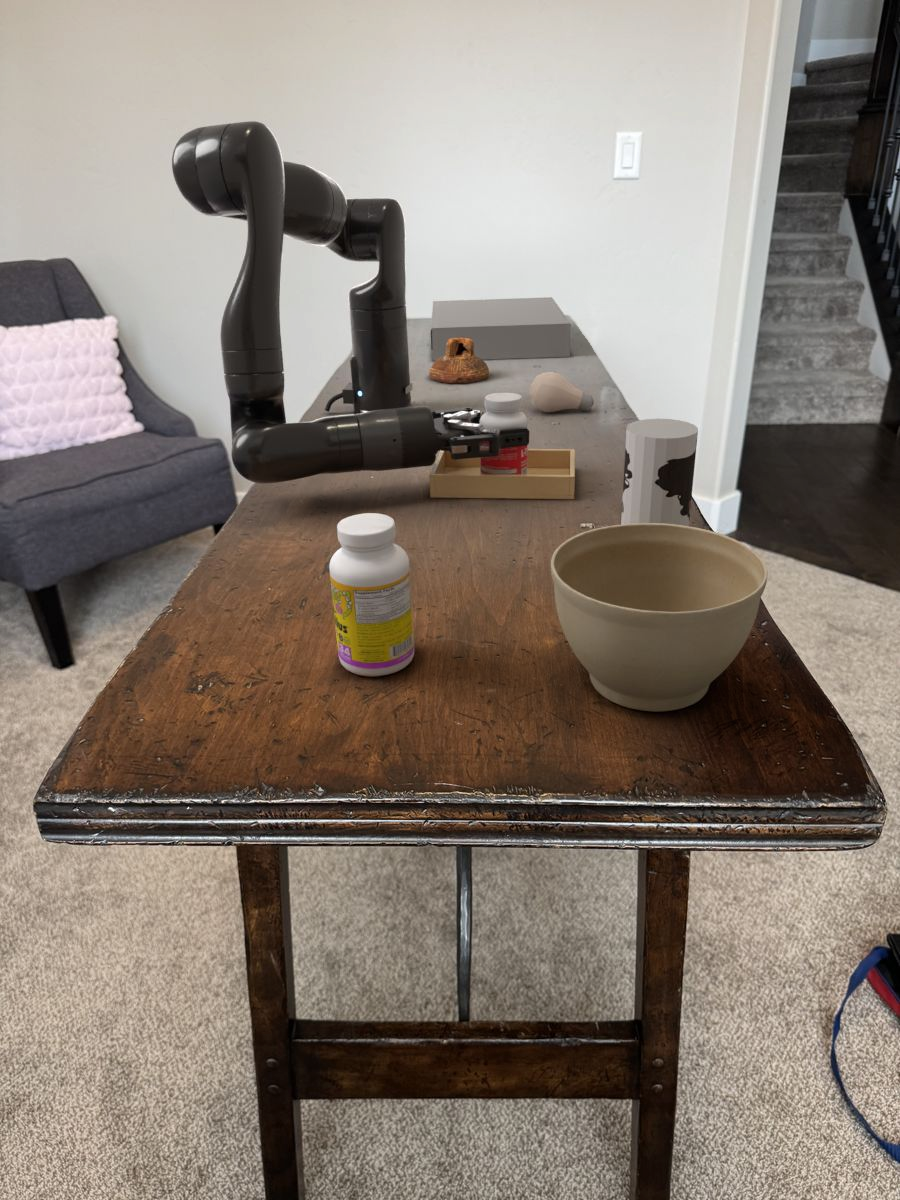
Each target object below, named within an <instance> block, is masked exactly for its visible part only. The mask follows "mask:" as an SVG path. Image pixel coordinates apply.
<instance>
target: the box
mask: <svg viewBox="0 0 900 1200" xmlns="http://www.w3.org/2000/svg"><path fill="white" fill-rule="evenodd" d="M431 311H432V312H431V325H430V326H431V327H430V345H431V351H432V362H435V361H436V360H437V359H439V358H440V357H442V356H445V355H446V350H447V349H446V344H447V342H448V340H449V339H451V338H468V339H471V340H472V341H473V342H474V354H475V356H476V357H478V358H480V359H481V360H483V361H484V360H505V359H506V360H510V359H511V360H512V359H514V360H515V359H539V358H541V359H543V358H570V356H571V331H572V330H571V329H572V327H571V325H572V324H571V321H570V320H569V319H568V317H567V316H566V315H565V313H564V312H563V311H562V309H561V308H560V307H559V305H558V303H557V302H556V301H555V300H554V298H553V296H551V297H550V296H549V297H548V296H546V297H545V296H544V297H519V298H518V297H517V298H515V297H513V298H495V299H494V298H492V299H491V298H489V299H460V300H459V299H458V300H433V301H432V309H431Z"/></svg>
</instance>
